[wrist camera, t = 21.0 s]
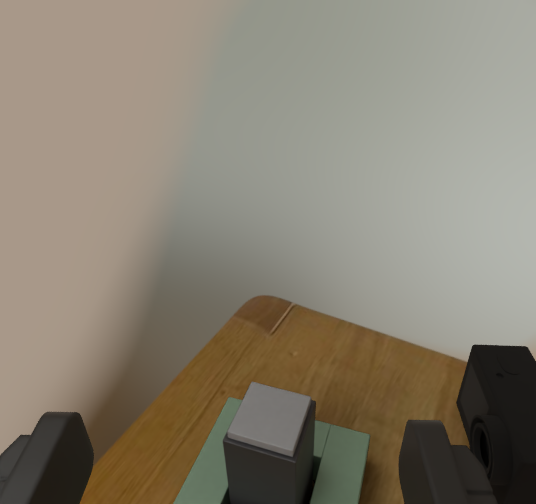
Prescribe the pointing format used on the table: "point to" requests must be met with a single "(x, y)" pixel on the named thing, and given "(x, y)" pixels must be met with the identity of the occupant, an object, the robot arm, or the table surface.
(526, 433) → the digital camera
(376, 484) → the table surface
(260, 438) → the dark grey tall block
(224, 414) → the frame
